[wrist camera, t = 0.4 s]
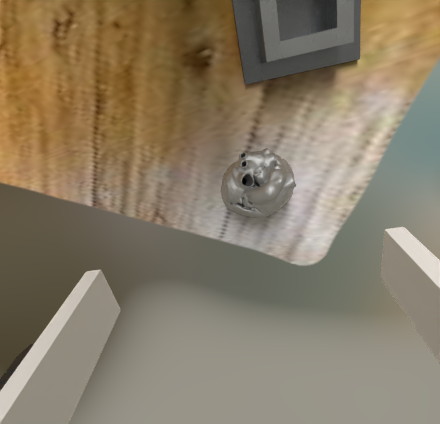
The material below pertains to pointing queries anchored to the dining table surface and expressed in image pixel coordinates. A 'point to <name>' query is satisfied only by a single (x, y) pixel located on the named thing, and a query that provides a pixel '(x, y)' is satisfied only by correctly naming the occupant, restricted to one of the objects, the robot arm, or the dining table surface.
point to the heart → (257, 184)
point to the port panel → (295, 35)
